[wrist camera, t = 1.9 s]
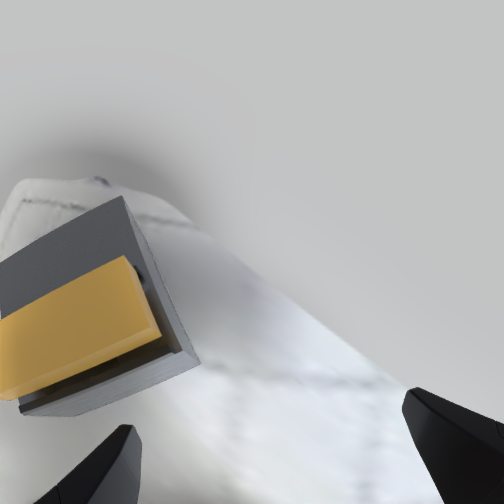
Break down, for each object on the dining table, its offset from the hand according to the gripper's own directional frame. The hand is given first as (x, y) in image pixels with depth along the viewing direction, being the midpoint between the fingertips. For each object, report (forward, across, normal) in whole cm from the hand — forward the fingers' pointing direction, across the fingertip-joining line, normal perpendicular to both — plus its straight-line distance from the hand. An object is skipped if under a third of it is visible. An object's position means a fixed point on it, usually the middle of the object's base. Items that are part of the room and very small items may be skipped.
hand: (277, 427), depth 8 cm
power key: (+6, +11, 0) cm, 13 cm away
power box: (+15, +12, +4) cm, 19 cm away
